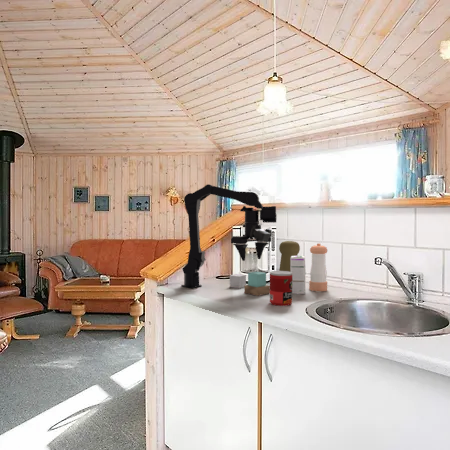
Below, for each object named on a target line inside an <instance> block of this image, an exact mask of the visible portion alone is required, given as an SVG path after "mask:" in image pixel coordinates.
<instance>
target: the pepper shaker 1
mask: <svg viewBox="0 0 450 450" xmlns="http://www.w3.org/2000/svg"><path fill="white" fill-rule="evenodd" d="M278 250H279V253H280V262H279V268H278V269H279V270H278V271H289V272H290V258H291V256H299V255H298V254H299V253H300V250H301V246H300V243H299V242H298V241H293V240H286V241H281V242H280V244H279V246H278Z"/></svg>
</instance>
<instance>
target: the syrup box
mask: <svg viewBox="0 0 450 450" xmlns="http://www.w3.org/2000/svg"><path fill="white" fill-rule="evenodd" d="M290 272H292V295H305V294H306V256H305V255H298V256H291V258H290Z"/></svg>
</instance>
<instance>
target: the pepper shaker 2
mask: <svg viewBox="0 0 450 450" xmlns="http://www.w3.org/2000/svg"><path fill="white" fill-rule="evenodd" d="M309 251H310V253H311V266H310V272H309V277H310V278H309V283H308V284H309V285H308V290H309V291H313V292H327V291H328V281H327V274H328V273H327V265H326V254H327V253H328V248H327V247H326V246H325V245H321V243H320V242H319V243H317V244H316V245H312V246H310V249H309Z"/></svg>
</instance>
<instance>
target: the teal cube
mask: <svg viewBox="0 0 450 450" xmlns="http://www.w3.org/2000/svg"><path fill="white" fill-rule="evenodd" d="M247 285H248V286H254V287H261V286H266V285H267V273H266V272H263V271H251V272H247Z"/></svg>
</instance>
